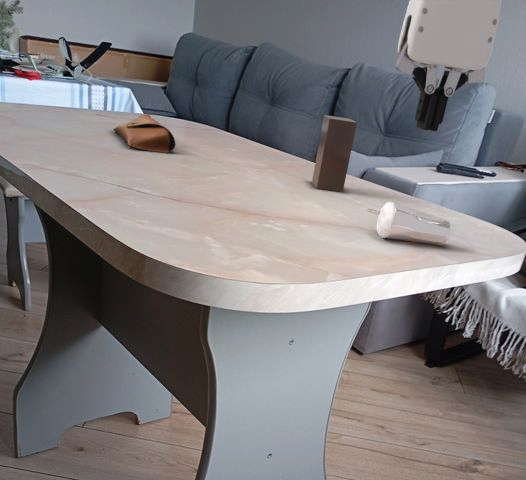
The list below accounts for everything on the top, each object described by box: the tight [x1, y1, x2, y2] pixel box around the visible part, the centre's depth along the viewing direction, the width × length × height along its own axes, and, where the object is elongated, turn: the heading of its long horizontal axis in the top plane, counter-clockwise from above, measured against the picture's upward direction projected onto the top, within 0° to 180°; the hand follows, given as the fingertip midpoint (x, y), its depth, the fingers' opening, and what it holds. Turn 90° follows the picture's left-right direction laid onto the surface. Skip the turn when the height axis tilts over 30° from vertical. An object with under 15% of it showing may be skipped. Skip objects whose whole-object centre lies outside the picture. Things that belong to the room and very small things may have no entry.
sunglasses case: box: [112, 113, 176, 154], centre depth 115 cm, size 18×7×7 cm
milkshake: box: [366, 201, 452, 246], centre depth 79 cm, size 5×5×10 cm
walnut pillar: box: [311, 114, 358, 193], centre depth 101 cm, size 4×4×11 cm
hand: (426, 128), depth 76 cm, fingers closed
